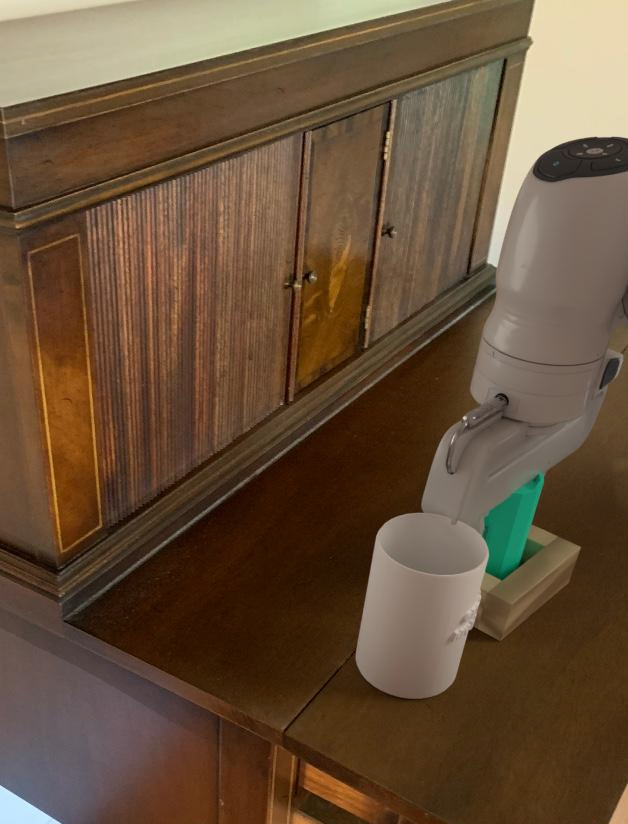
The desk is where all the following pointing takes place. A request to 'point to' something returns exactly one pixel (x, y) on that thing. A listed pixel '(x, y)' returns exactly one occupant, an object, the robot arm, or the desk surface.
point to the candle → (511, 528)
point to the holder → (526, 583)
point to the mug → (420, 604)
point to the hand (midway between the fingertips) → (493, 526)
